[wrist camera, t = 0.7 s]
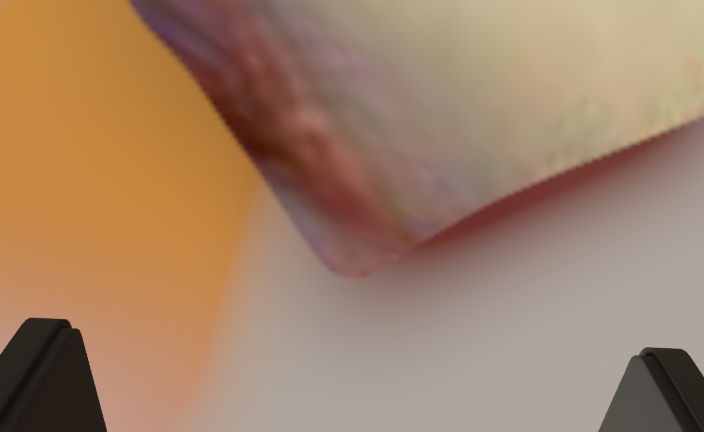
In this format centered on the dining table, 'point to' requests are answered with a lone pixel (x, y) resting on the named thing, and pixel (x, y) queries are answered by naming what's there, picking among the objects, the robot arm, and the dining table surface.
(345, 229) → the dining table surface
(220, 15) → the dining table surface
